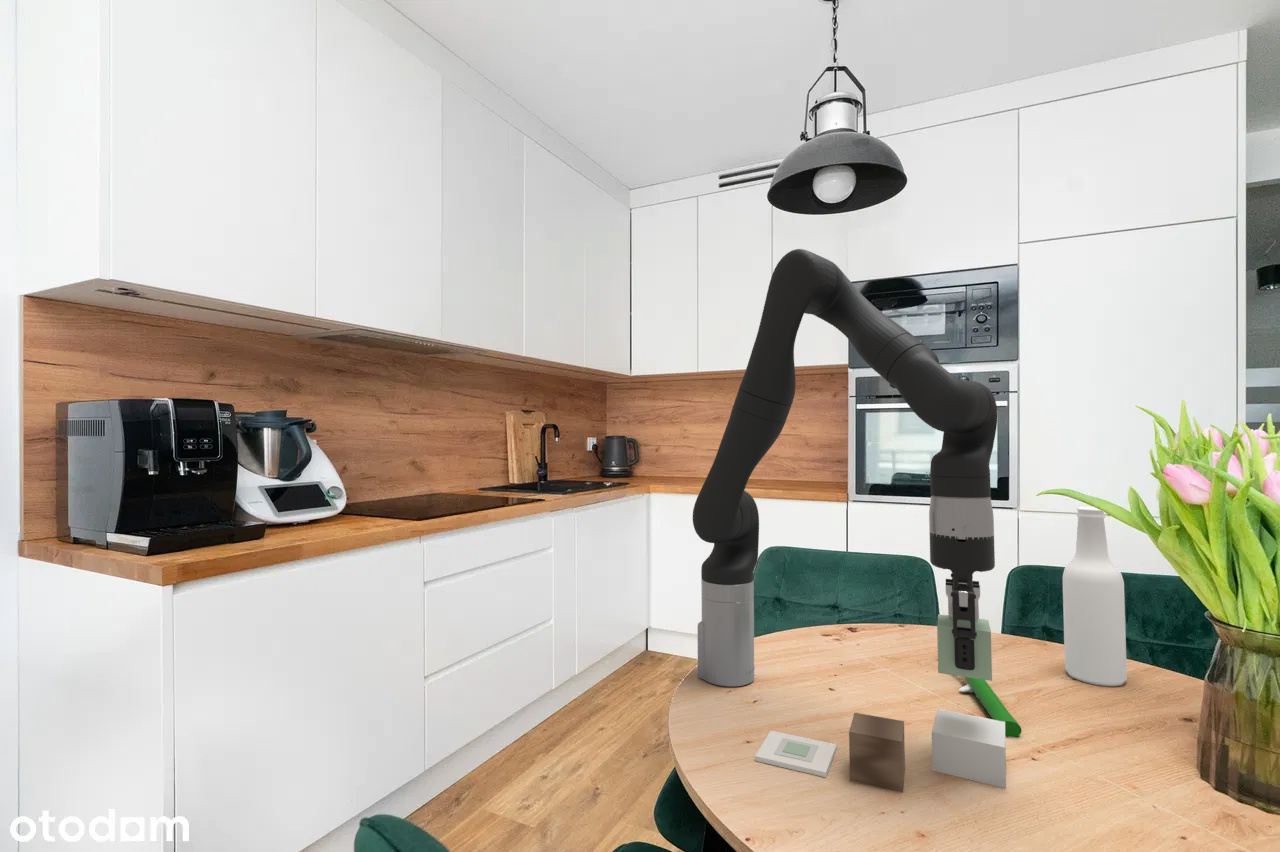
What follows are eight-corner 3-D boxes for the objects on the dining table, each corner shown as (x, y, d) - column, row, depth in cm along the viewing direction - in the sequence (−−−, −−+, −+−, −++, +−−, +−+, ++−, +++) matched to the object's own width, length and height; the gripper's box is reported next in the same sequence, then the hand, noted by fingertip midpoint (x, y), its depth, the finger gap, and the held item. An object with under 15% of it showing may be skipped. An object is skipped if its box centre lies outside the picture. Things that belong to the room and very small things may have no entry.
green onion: (1025, 745, 86) (965, 661, 115) (1025, 721, 86) (965, 643, 115) (987, 741, 87) (937, 659, 116) (986, 718, 87) (937, 641, 116)
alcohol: (1108, 670, 111) (1104, 505, 113) (1139, 689, 103) (1133, 510, 104) (1055, 667, 113) (1051, 504, 114) (1081, 685, 104) (1076, 509, 105)
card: (754, 760, 80) (754, 754, 80) (771, 734, 87) (770, 729, 87) (826, 777, 75) (825, 770, 75) (836, 749, 83) (836, 742, 83)
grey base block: (932, 771, 77) (931, 731, 77) (938, 745, 84) (937, 708, 84) (1006, 790, 73) (1005, 747, 73) (1005, 760, 80) (1005, 721, 80)
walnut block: (849, 781, 75) (849, 731, 75) (855, 759, 80) (854, 712, 80) (903, 793, 72) (902, 741, 72) (904, 769, 78) (904, 721, 78)
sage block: (938, 672, 78) (937, 625, 79) (939, 658, 84) (938, 614, 84) (992, 680, 76) (990, 631, 76) (989, 665, 81) (988, 619, 81)
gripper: (930, 523, 88) (933, 641, 88) (927, 536, 76) (930, 674, 75) (990, 526, 85) (993, 648, 84) (997, 540, 72) (1001, 684, 72)
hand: (964, 660), depth 80 cm, fingers closed on sage block, 6 cm apart
